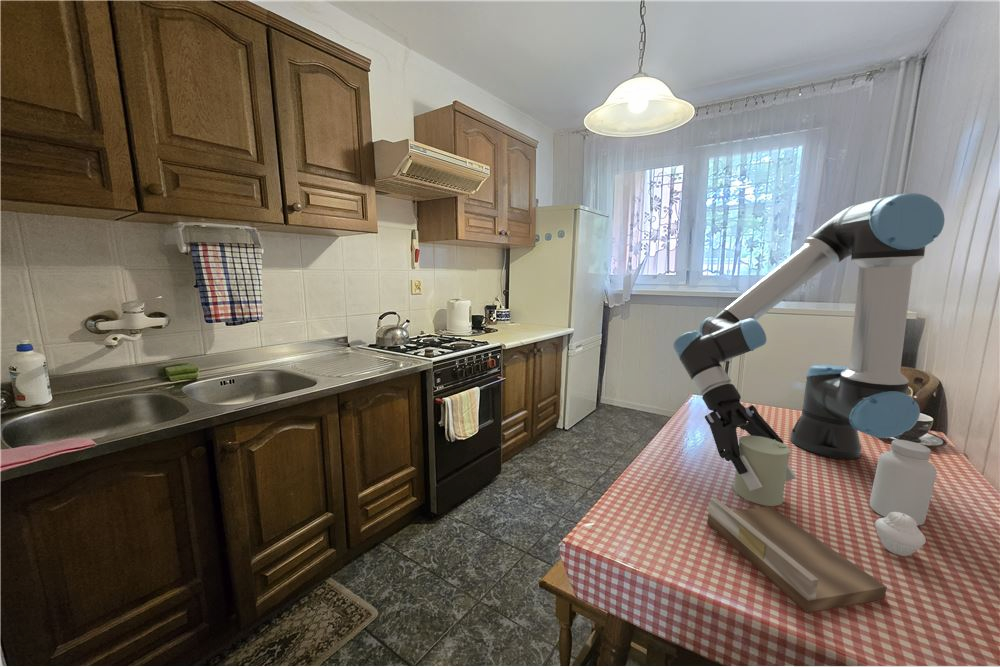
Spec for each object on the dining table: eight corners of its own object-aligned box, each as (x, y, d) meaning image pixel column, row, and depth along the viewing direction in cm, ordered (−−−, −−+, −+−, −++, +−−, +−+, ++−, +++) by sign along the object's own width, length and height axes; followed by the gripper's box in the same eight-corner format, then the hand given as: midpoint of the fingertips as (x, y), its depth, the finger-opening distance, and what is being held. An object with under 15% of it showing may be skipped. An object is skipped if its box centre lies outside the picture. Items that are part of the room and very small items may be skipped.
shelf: (769, 515, 77) (772, 491, 76) (884, 598, 58) (890, 567, 57) (706, 522, 74) (709, 498, 74) (804, 613, 55) (810, 581, 54)
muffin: (925, 553, 67) (933, 517, 66) (916, 568, 64) (924, 530, 63) (877, 533, 72) (884, 499, 71) (866, 545, 69) (873, 509, 68)
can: (792, 509, 79) (800, 454, 77) (742, 503, 81) (749, 449, 79) (770, 484, 88) (777, 435, 86) (726, 480, 90) (732, 431, 88)
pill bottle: (916, 532, 73) (932, 458, 70) (861, 508, 80) (874, 440, 77) (932, 520, 76) (947, 449, 74) (878, 498, 83) (891, 433, 81)
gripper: (738, 392, 100) (794, 480, 88) (671, 401, 92) (722, 499, 80) (761, 378, 94) (824, 469, 82) (691, 386, 86) (749, 489, 74)
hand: (773, 484), depth 81 cm, fingers open, 10 cm apart
